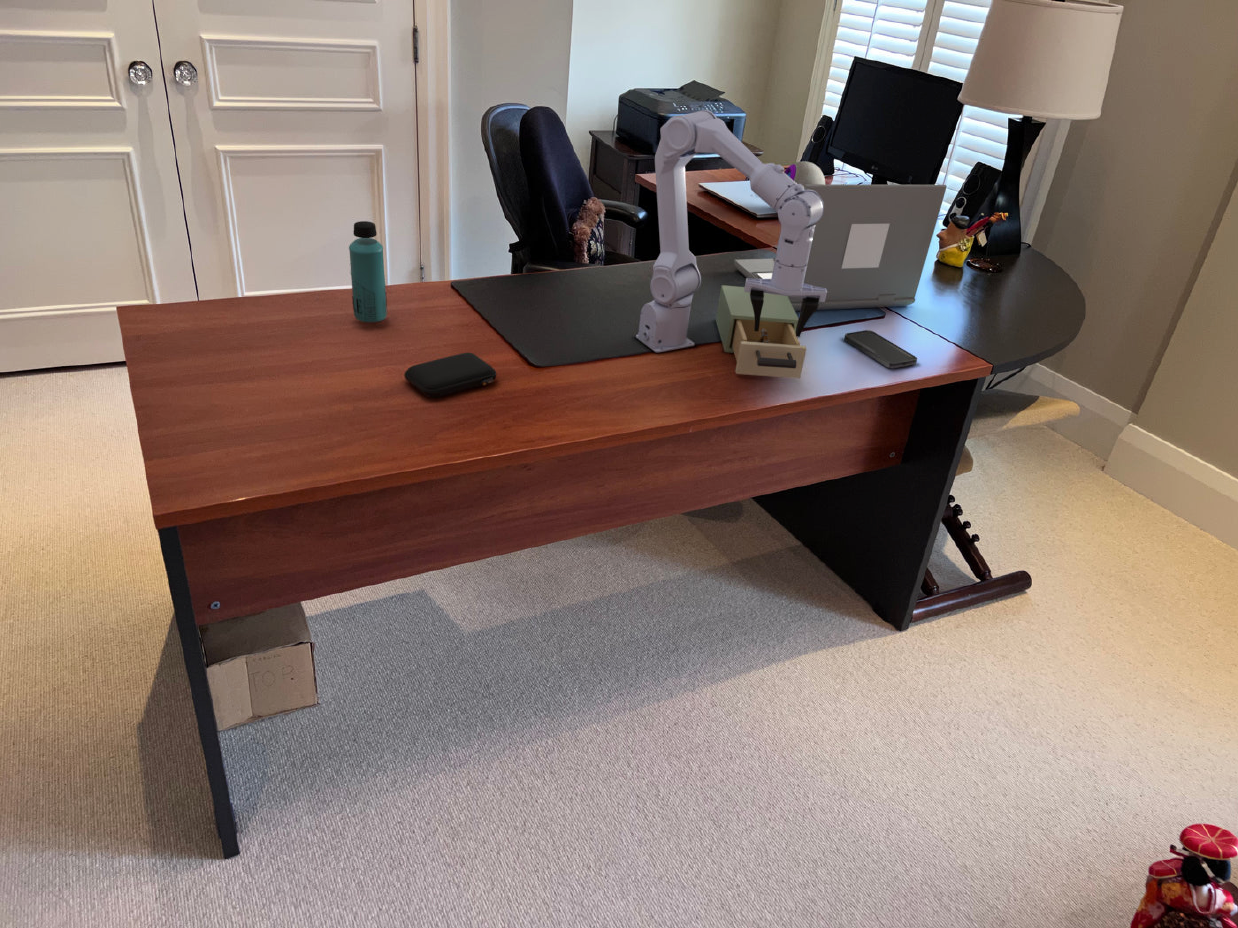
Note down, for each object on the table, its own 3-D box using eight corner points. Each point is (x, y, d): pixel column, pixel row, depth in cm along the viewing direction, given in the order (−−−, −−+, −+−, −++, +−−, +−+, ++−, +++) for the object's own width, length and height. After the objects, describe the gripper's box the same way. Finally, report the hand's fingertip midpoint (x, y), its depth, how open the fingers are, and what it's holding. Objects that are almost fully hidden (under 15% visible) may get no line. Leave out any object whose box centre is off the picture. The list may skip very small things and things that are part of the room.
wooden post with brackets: (762, 341, 181) (768, 326, 177) (769, 373, 176) (776, 358, 173) (753, 341, 180) (759, 326, 176) (760, 372, 176) (767, 358, 172)
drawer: (805, 390, 168) (812, 360, 165) (739, 386, 168) (745, 355, 164) (786, 345, 185) (792, 317, 182) (726, 341, 184) (731, 312, 181)
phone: (870, 329, 195) (919, 359, 185) (868, 334, 196) (918, 364, 185) (842, 334, 192) (891, 364, 181) (841, 339, 192) (889, 369, 182)
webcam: (770, 205, 273) (780, 154, 265) (811, 208, 275) (822, 158, 266) (781, 219, 262) (791, 167, 254) (823, 222, 264) (835, 170, 256)
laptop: (855, 266, 233) (883, 153, 218) (913, 307, 212) (948, 186, 197) (732, 269, 222) (752, 151, 207) (781, 313, 202) (807, 186, 186)
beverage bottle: (394, 321, 179) (390, 222, 169) (373, 333, 174) (367, 231, 163) (367, 313, 181) (362, 215, 171) (346, 324, 176) (338, 223, 165)
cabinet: (791, 357, 183) (799, 320, 178) (724, 352, 182) (731, 315, 177) (777, 325, 196) (784, 290, 191) (715, 320, 195) (721, 285, 190)
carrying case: (431, 406, 152) (504, 386, 161) (430, 390, 151) (505, 370, 159) (400, 380, 159) (472, 362, 168) (399, 365, 157) (472, 347, 166)
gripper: (830, 259, 163) (814, 328, 171) (750, 249, 164) (737, 318, 171) (833, 272, 157) (817, 343, 165) (750, 262, 158) (738, 333, 165)
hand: (776, 332), depth 168 cm, fingers open, 7 cm apart
